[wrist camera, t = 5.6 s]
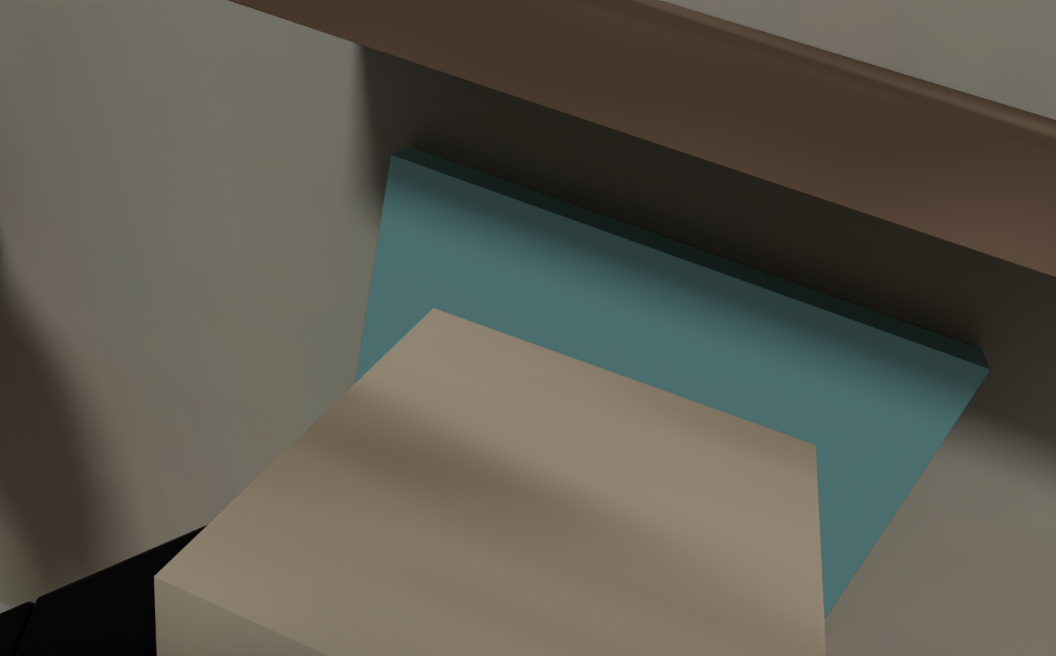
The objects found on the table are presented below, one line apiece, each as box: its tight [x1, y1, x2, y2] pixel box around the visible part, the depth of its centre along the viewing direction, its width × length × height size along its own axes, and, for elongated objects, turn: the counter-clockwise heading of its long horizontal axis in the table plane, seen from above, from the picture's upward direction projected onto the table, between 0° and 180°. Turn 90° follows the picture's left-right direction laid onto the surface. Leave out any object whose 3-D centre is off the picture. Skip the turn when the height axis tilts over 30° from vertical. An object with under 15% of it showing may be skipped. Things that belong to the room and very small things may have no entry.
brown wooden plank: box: [229, 0, 1056, 277], centre depth 13 cm, size 2×20×5 cm, turn 75°
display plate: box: [355, 146, 991, 619], centre depth 20 cm, size 10×14×1 cm
